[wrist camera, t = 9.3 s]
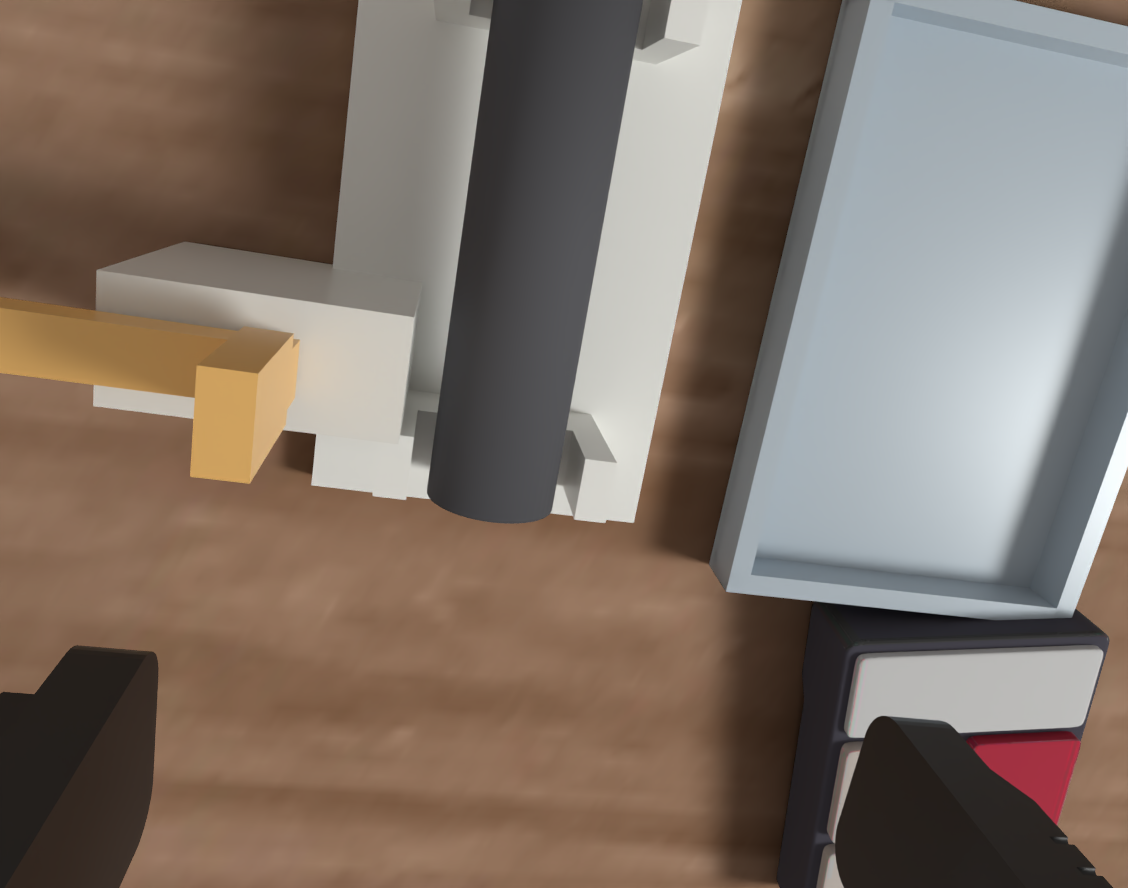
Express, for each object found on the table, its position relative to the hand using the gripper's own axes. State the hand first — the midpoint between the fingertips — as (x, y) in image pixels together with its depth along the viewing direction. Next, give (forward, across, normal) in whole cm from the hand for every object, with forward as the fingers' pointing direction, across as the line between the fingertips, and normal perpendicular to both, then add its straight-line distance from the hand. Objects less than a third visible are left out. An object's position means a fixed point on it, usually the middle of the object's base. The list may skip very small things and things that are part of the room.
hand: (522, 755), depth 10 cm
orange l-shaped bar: (+16, +11, 0) cm, 19 cm away
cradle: (+24, +1, -4) cm, 24 cm away
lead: (+21, -1, -4) cm, 21 cm away
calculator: (+24, -22, +15) cm, 36 cm away
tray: (+24, -18, -3) cm, 30 cm away
